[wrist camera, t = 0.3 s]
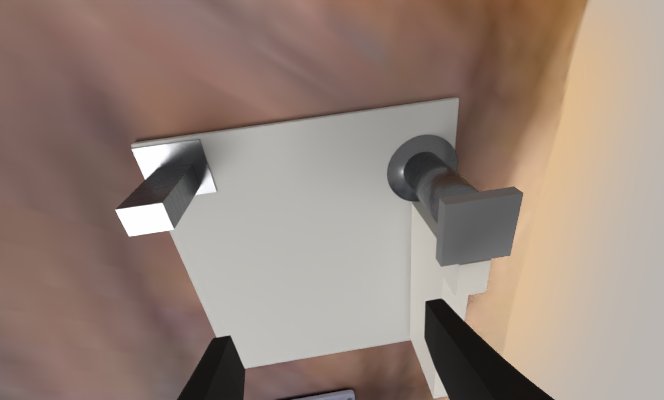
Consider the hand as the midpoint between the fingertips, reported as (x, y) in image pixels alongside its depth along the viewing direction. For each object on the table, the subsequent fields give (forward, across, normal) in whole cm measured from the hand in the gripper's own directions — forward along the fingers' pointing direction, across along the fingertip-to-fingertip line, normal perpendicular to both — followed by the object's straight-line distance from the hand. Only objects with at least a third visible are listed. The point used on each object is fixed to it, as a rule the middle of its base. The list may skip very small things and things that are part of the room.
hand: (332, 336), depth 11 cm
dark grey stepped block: (+10, +7, -4) cm, 13 cm away
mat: (+10, 0, +4) cm, 11 cm away
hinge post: (+10, -7, -2) cm, 12 cm away
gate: (+9, -7, +5) cm, 12 cm away
